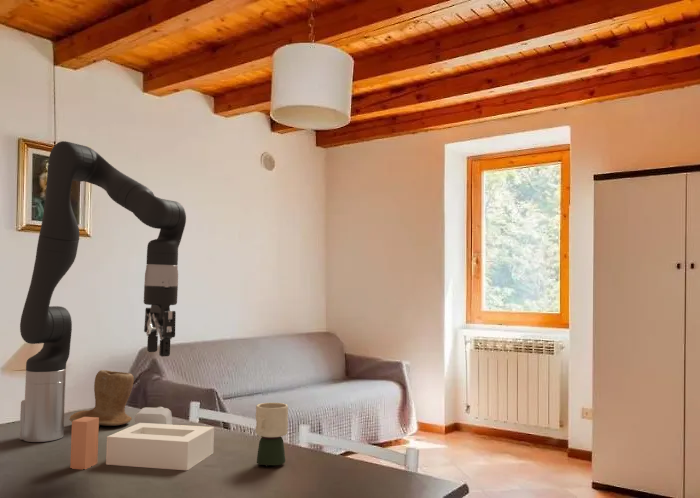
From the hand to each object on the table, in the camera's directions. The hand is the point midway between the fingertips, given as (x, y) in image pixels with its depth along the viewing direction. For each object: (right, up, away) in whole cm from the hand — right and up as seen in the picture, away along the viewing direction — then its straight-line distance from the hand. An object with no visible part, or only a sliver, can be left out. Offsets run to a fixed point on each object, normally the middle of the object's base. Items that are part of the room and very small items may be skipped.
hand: (158, 354), depth 145 cm
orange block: (-13, -23, -10) cm, 28 cm away
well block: (+2, -23, -4) cm, 23 cm away
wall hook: (-4, -24, +12) cm, 27 cm away
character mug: (+27, -23, -8) cm, 37 cm away
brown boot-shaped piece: (-24, -25, +29) cm, 45 cm away
